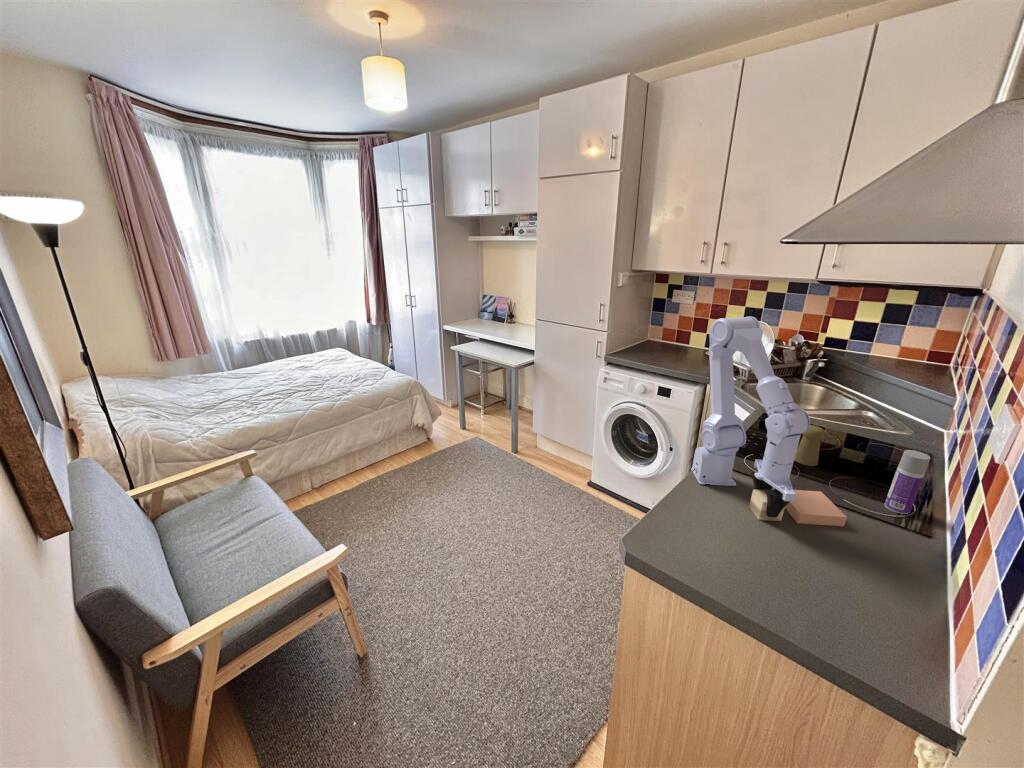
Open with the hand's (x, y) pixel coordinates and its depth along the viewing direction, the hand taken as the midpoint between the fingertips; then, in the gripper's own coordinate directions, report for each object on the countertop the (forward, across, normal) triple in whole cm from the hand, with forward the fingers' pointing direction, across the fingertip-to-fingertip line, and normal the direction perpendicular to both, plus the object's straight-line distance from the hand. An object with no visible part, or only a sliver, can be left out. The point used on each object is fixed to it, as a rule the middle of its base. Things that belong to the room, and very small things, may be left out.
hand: (765, 508), depth 97 cm
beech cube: (+1, 0, 0) cm, 1 cm away
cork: (+2, -27, +24) cm, 36 cm away
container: (+2, -5, +33) cm, 33 cm away
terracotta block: (+2, -2, +11) cm, 11 cm away
